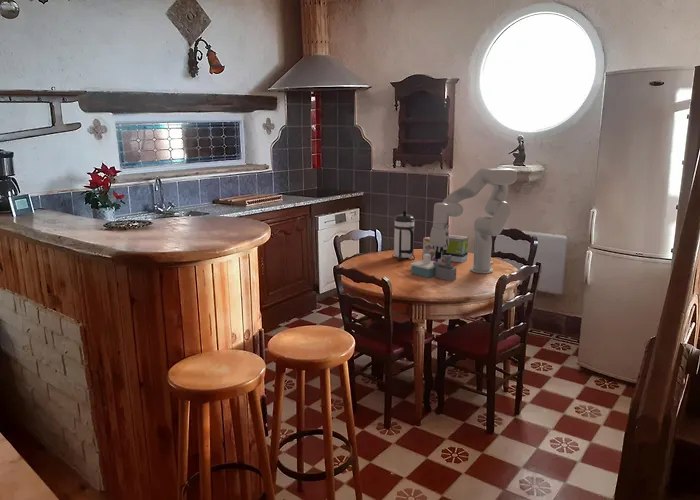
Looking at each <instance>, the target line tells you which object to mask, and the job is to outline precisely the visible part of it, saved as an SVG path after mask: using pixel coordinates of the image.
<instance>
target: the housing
mask: <svg viewBox="0 0 700 500" xmlns="http://www.w3.org/2000/svg"><path fill="white" fill-rule="evenodd" d="M410 272H411V274H412V275H415V276H420V277H424V278H428V279H429V278H433V277H435V278H437V279H441V280H444V281H448V282H449V281H450V282H452V281H455V280H456V279H457V267H454V268H452V269H450V268H446V267H441V266H436V268H432V269H425V268H421V267H416V266H412V265H411V271H410Z"/></svg>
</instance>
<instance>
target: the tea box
mask: <svg viewBox="0 0 700 500" xmlns="http://www.w3.org/2000/svg"><path fill="white" fill-rule="evenodd" d="M468 253H469V236H466V235H457V234H456V235H455V234H449V246H447V249H446V250H443V251H442V261H445V259H444V256H447V255H452V257H451V262H454V263H455V262H456V263H464V262H466V261H467V260H468Z"/></svg>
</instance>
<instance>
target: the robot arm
mask: <svg viewBox="0 0 700 500" xmlns="http://www.w3.org/2000/svg"><path fill="white" fill-rule="evenodd" d="M517 179H518V172H517V171H516V170H515V169H514V168H513V169H512V168H508V167H500V166H499V167H495V168H488V167H481V168H479V169H478V170H477V171H476V172H475V173H474V174H473V175H472V176H471V178H470V179H469V180H468V181H467V182H466V183H465V184H464V185H462V186H461V187H459V188H457V189H455V190H454V191H452V192H451V193H450V194H448V195H447V196H446V197H445V198H444V199H443V201H442V202H435V203H434V205H433V216H432V217H433V218H432V219H433V220H432V227H431V229H430V230H431V231H430V234H429V235H430V236H429V237H430V246H431V247H433V248H434V251H435V259H441V252H442V251H443V250H446V249H447V246H449V235H450V233H449V227H450V226H449V224H448V217H455V218H456V217H460V216H461V215H462V214H463V212H464V207H463V205H462V204H460V202H461V201H464V200H467V199H468V200H469V199H472V198H475V197H476V196H477V195H478V194H480V192H481V191H482V190H483V189H484V188H485V187H486V186H487V185H491V186H493V189H492V192H491V194H490V195H489V197H488V200H487V201H486V203H485V205H484V212H485V214H486V215H487V216H486V215H481V216H477V217H476V218H475V220H474V222H473V230H474V231H473V232H474V247H473V261H472V262H473V266H471V267H470V268H469V269H470V271H471V272H472V273H476V274H491V273H493V271H494V269H493V268H492V266H494V262H493V261H492V259H491V258H492V247H493V246H492V243H493V238H492V237H496V236H498V235H500V234H501V233H502V231H503V229H504V228H505V226H506V223H507V221H509V218H510V215H511V213H512V208H511V205H510V203H508V202H507V201H506V199H507V197H508V195H509V185H512V184H514V183H515V182H516V181H517Z"/></svg>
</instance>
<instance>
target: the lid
mask: <svg viewBox="0 0 700 500" xmlns="http://www.w3.org/2000/svg"><path fill="white" fill-rule="evenodd" d="M422 255H423V254H422ZM433 262H435V261H431V255H430V254H424V255H423V260H422V259H420V260H418V261H414V262H411V263H410V266H411V267H412V266H416V267H421V268H425V269H432V268H436V266H437V265H433Z"/></svg>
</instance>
